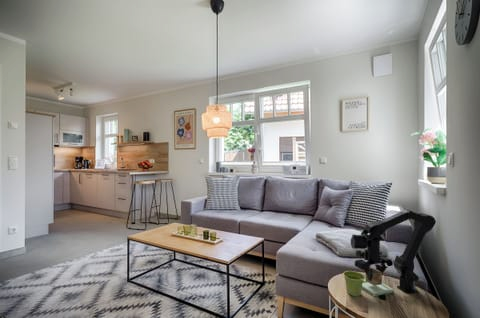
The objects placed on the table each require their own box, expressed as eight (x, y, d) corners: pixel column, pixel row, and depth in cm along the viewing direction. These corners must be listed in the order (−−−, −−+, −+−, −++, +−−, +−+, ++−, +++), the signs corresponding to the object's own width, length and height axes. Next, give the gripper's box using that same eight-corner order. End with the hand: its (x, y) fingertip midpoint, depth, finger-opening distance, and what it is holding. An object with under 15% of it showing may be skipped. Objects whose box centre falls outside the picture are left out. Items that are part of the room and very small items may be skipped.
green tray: (373, 280, 130) (373, 278, 130) (393, 292, 118) (393, 289, 118) (354, 284, 126) (354, 281, 126) (373, 296, 115) (373, 293, 115)
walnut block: (373, 279, 126) (373, 267, 126) (381, 284, 121) (381, 272, 121) (365, 280, 124) (365, 269, 124) (373, 285, 119) (373, 273, 119)
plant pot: (367, 299, 112) (367, 280, 112) (345, 297, 114) (345, 278, 114) (361, 289, 121) (361, 271, 121) (341, 287, 123) (341, 270, 123)
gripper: (375, 242, 133) (375, 270, 133) (346, 245, 128) (346, 275, 127) (393, 249, 122) (393, 280, 122) (363, 253, 117) (363, 285, 117)
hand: (373, 280), depth 122 cm, fingers closed on walnut block, 5 cm apart
